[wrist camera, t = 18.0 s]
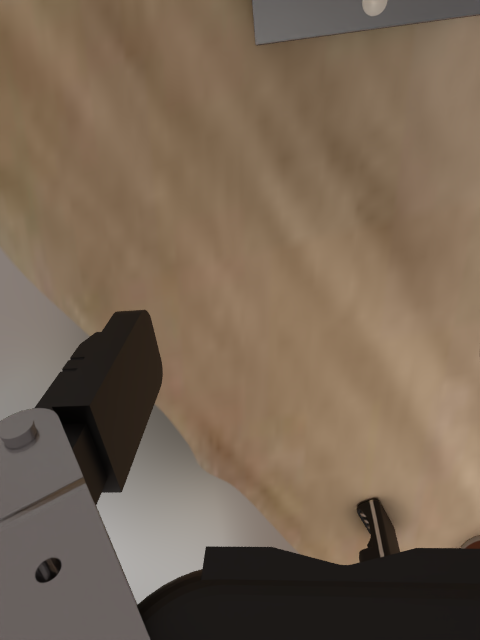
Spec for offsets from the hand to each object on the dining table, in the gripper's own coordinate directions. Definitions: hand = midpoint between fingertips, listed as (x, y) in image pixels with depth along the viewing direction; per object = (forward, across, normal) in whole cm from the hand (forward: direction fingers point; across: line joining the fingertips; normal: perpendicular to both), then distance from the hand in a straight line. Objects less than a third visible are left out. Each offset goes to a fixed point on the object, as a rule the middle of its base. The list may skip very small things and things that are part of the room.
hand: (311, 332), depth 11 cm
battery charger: (+28, -8, +46) cm, 55 cm away
